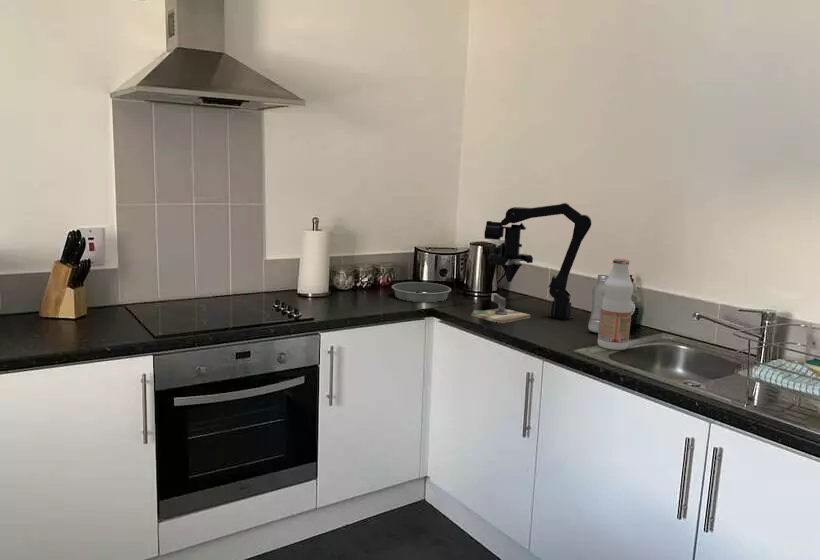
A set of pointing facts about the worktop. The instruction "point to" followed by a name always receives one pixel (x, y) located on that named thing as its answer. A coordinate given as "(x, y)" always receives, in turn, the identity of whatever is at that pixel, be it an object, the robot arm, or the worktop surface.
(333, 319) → the worktop surface
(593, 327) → the plastic bottle
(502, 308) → the peg
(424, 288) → the cake pan
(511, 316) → the beige flat board
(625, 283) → the fruit juice
